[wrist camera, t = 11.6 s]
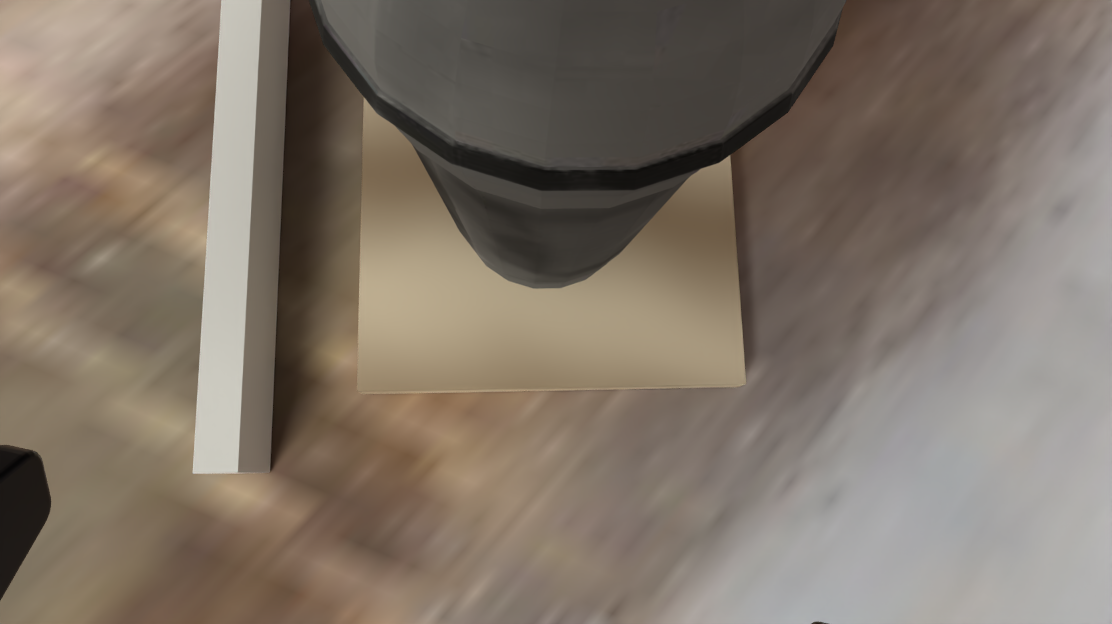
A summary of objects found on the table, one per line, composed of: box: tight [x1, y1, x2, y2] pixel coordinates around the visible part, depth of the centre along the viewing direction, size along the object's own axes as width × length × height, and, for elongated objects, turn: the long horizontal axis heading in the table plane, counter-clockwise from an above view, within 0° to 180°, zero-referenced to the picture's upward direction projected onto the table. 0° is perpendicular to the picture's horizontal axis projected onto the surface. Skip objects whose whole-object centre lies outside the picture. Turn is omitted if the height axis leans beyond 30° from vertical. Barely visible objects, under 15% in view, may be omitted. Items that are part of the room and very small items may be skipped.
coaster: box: [357, 98, 746, 394], centre depth 22 cm, size 10×10×1 cm
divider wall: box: [193, 0, 290, 474], centre depth 21 cm, size 14×1×2 cm, turn 1°
